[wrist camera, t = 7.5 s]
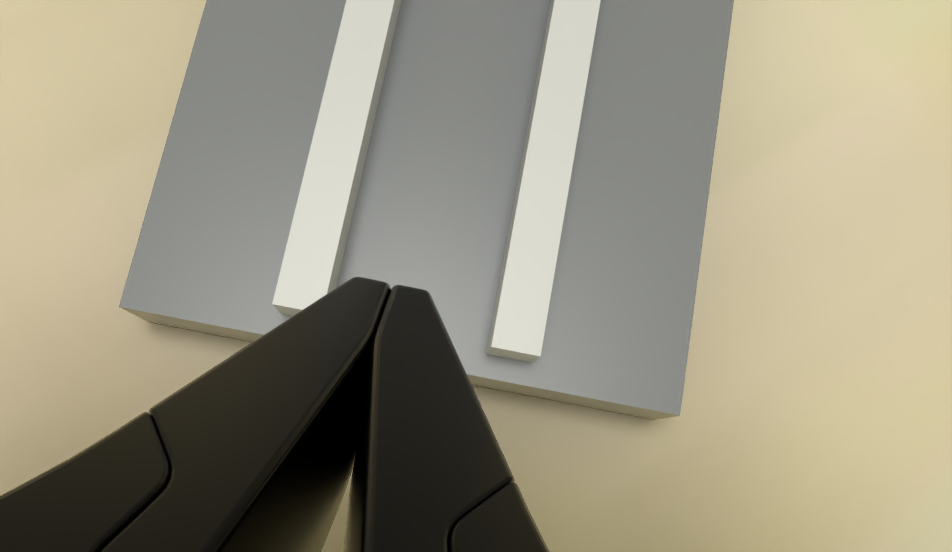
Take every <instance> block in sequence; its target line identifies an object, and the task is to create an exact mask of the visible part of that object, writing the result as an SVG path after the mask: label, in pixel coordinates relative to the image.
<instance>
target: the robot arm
mask: <svg viewBox="0 0 952 552" xmlns="http://www.w3.org/2000/svg"><path fill="white" fill-rule="evenodd" d="M353 464H354V467H353ZM352 468H353V473H352V480H351V487H350V495H349V504H348V513H347V523H346V532H345V542H344V551H343V552H549V550H548V548H547V546H546V544H545V542H544V540H543V538H542V536H541V534H540V532H539V530H538V528H537V526H536V524H535V522H534V520H533V518H532V516H531V514H530V512H529V510H528V508H527V506H526V503H525V501H524V499H523V497H522V494H521V492H520V490H519V488H518V486H517V484H515V483H514V477H513V475H512V473H511V471H510V469H509V466H508V464H507V462H506V460H505V458H504V455H503V453H502V451H501V449H500V447H499V444H498V442H497V440H496V438H495V435H494V433H493V431H492V429H491V427H490V424H489V422H488V420H487V418H486V416H485V413H484V411H483V409H482V407H481V405H480V402H479V400H478V398H477V396H476V394H475V391H474V389H473V387H472V385H471V383H470V380H469V378H468V376H467V374H466V372H465V369H464V367H463V365H462V363H461V360H460V358H459V356H458V354H457V352H456V349H455V347H454V345H453V343H452V341H451V338H450V336H449V334H448V332H447V330H446V327H445V325H444V323H443V321H442V319H441V316H440V314H439V312H438V310H437V308H436V305H435V303H434V301H433V299H432V297H431V295H430V293H429V292H428V291H427V290H424V289H418V288H413V287H408V286H403V285H395V286H393V287H392V288H390V285H389V284H388V283H386V282H383V281H378V280H373V279H368V278H363V277H353V278H351V279H350V280H348V281H346V282H345V283H343V284H342V285H340V286H339V287H337V288H336V289H334V290H333V291H331V292H329V293H328V294H326V295H325V296H323V297H322V298H320V299H319V300H317V301H316V302H314V303H312V304H311V305H309V306H308V307H306V308H305V309H303V310H302V311H300V312H299V313H297V314H295V315H294V316H292V317H291V318H289V319H288V320H286V321H285V322H283V323H282V324H280V325H278V326H277V327H275V328H274V329H272V330H271V331H269V332H268V333H266V334H265V335H263V336H261V337H260V338H258V339H257V340H255V341H254V342H252V343H251V344H249V345H248V346H246V347H244V348H243V349H241V350H240V351H238V352H237V353H235V354H234V355H232V356H231V357H229V358H228V359H226V360H224V361H223V362H221V363H220V364H218V365H217V366H215V367H214V368H212V369H211V370H209V371H207V372H206V373H204V374H203V375H201V376H200V377H198V378H197V379H195V380H194V381H192V382H190V383H189V384H187V385H186V386H184V387H183V388H181V389H180V390H178V391H177V392H175V393H173V394H172V395H170V396H169V397H167V398H166V399H164V400H163V401H161V402H160V403H158V404H156V405H155V406H153V407H152V408H151V409H150V410H149V413H146V412H145V413H142V414H140V415H139V416H137V417H136V418H134V419H133V420H131V421H130V422H128V423H127V424H125V425H123V426H122V427H120V428H119V429H117V430H116V431H114V432H112V433H111V434H109V435H108V436H106V437H104V438H103V439H101V440H99V441H98V442H96V443H94V444H93V445H91V446H89V447H88V448H86V449H85V450H83V451H81V452H80V453H78V454H76V455H75V456H73V457H71V458H70V459H68V460H66V461H64V462H62V463H61V464H59V465H57V466H55V467H53V468H51V469H50V470H48V471H46V472H44V473H42V474H40V475H38V476H37V477H35V478H33V479H31V480H29V481H27V482H26V483H24V484H22V485H20V486H18V487H16V488H15V489H13V490H11V491H9V492H7V493H5V494H3V495H1V496H0V552H321V551H322V548H323V546H324V543H325V541H326V538H327V535H328V533H329V530H330V528H331V525H332V523H333V520H334V518H335V515H336V513H337V510H338V507H339V505H340V502H341V500H342V497H343V495H344V492H345V489H346V486H347V484H348V481H349V478H350V475H351V471H352Z"/></svg>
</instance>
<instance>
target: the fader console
mask: <svg viewBox="0 0 952 552" xmlns="http://www.w3.org/2000/svg"><path fill="white" fill-rule="evenodd" d="M733 2H734V0H207V1H206V4H205V8H204V11H203V15H202V18H201V22H200V25H199V29H198V32H197V36H196V39H195V43H194V46H193V50H192V53H191V57H190V60H189V64H188V67H187V71H186V74H185V78H184V81H183V85H182V88H181V92H180V95H179V99H178V102H177V106H176V109H175V113H174V116H173V120H172V123H171V127H170V130H169V134H168V137H167V141H166V144H165V148H164V151H163V155H162V158H161V162H160V165H159V169H158V172H157V176H156V179H155V183H154V186H153V190H152V193H151V197H150V200H149V204H148V207H147V211H146V214H145V218H144V221H143V225H142V228H141V232H140V235H139V239H138V242H137V246H136V249H135V253H134V256H133V260H132V263H131V267H130V270H129V274H128V277H127V281H126V284H125V288H124V291H123V295H122V298H121V302H120V305H119V307H121V308H122V309H124V310H126V311H128V312H130V313H132V314H134V315H136V316H138V317H140V318H142V319H144V320H146V321H148V322H152V323H157V324H162V325H168V326H173V327H178V328H183V329H188V330H193V331H199V332H204V333H209V334H214V335H219V336H224V337H229V338H235V339H240V340H245V341H250V342H254V341H255V340H257V339H258V338H260V337H261V336H263V335H265V334H266V333H268V332H269V331H271V330H272V329H274V328H275V327H277V326H278V325H280V324H282V323H283V322H285V321H286V320H288V319H289V318H291V317H292V316H294V315H295V314H297V313H299V312H300V311H302V310H303V309H305V308H306V307H308V306H309V305H311V304H312V303H314V302H316V301H317V300H319V299H320V298H322V297H323V296H325V295H326V294H328V293H329V292H331V291H333V290H334V289H336V288H337V287H339V286H340V285H342V284H343V283H345V282H346V281H348V280H350V279H351V278H353V277H363V278H368V279H373V280H378V281H383V282H386V283H388V284H389V285H390V288H392V287H393V286H395V285H403V286H408V287H413V288H418V289H424V290H427V291H428V292H429V293H430V295H431V297H432V299H433V301H434V303H435V305H436V308H437V310H438V312H439V314H440V316H441V319H442V321H443V323H444V325H445V327H446V330H447V332H448V334H449V336H450V338H451V341H452V343H453V345H454V347H455V349H456V352H457V354H458V356H459V358H460V360H461V363H462V365H463V367H464V369H465V372H466V374H467V376H468V378H469V380H470V383H471V384H472V385H477V386H482V387H488V388H493V389H498V390H503V391H508V392H513V393H519V394H524V395H529V396H534V397H539V398H544V399H550V400H555V401H560V402H565V403H570V404H575V405H581V406H586V407H591V408H596V409H601V410H606V411H611V412H617V413H622V414H627V415H632V416H637V417H642V418H648V419H653V420H654V419H661V418H667V417H674V416H680V410H681V403H682V395H683V387H684V380H685V372H686V364H687V356H688V349H689V341H690V333H691V326H692V318H693V310H694V302H695V295H696V287H697V279H698V272H699V264H700V256H701V248H702V241H703V233H704V225H705V218H706V210H707V202H708V194H709V187H710V179H711V171H712V164H713V156H714V148H715V141H716V133H717V125H718V117H719V110H720V102H721V94H722V87H723V79H724V71H725V63H726V56H727V48H728V40H729V33H730V25H731V17H732V9H733Z"/></svg>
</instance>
